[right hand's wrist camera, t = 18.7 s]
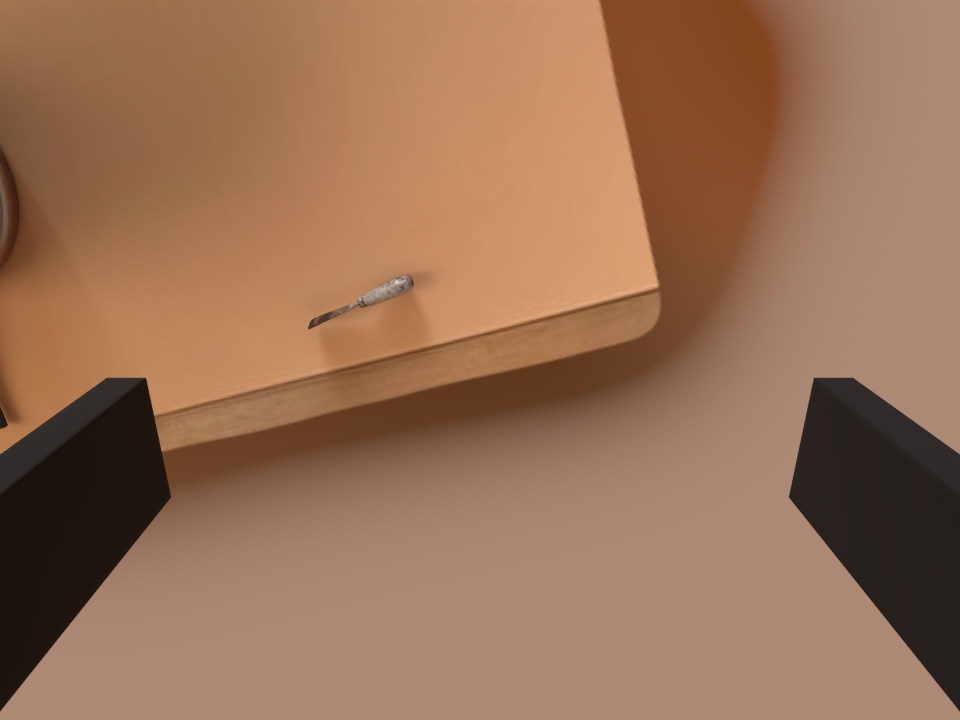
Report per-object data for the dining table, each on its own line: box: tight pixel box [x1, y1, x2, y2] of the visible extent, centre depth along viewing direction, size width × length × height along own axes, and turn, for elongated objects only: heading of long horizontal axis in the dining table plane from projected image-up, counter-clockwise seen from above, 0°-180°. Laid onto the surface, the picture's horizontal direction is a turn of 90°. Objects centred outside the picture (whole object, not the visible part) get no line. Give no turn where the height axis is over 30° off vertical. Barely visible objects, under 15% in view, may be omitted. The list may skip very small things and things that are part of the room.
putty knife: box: [308, 275, 414, 329], centre depth 44 cm, size 1×8×2 cm, turn 114°
